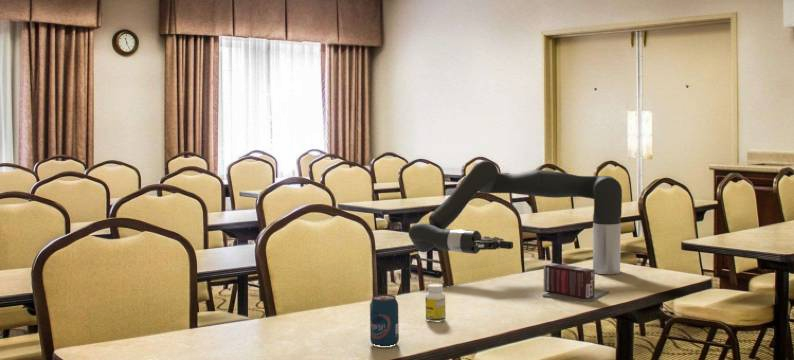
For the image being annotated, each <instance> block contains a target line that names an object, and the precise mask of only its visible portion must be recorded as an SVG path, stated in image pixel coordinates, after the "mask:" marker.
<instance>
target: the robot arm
mask: <svg viewBox="0 0 794 360" xmlns="http://www.w3.org/2000/svg"><path fill="white" fill-rule="evenodd" d="M478 193H481V194H515V195H523V196H524V195H525V196H533V197H534V196H535V197H541V198H542V197H543V198H551V199H552V198H559V199H560V198H572V197H575V198H576V197H578V198H585V199H586V198H587V199H591V200H593V215H592V269H593V270H595V274H599V275H600V274H601V275H617V274H620V273H621V222H622V221H621V220H622V219H621V217H622V211H623V210H622V209H623V202H622V201H623V189H622V185H621V184H620V181H618V180H617V179H616V178H614V177H613V176H609V175H592V176H591V175H589V176H588V175H586V176H585V175H575V174H573V173H572V174H571V173H566V172H561V171H555V170H553V171H552V170H545V169H533V170H527V171H522V172H518V173H502V172H499V171H498V167H497V165H496V164H495V163H494V162H492V161H490V160H481V161H478V162H477V163H475V165H474V166H473V167H472V169H471V170H470V172H469V173H468V174H467V175H466V177H465V178H464V179H463V181H462V182H461V183H460V184H459V185H458V187H456V189H454V191H453V192H452V193H451V194H450V195H449V196H448V197H447V198H446V199H445V200H444V201H443V202H442V203H441V204H440V205H439V206H437V208H436V209H435V210H434V211H433V212H431V214H430V215H429V216H428V222H429V223H426V222H425V223H424V222H419V223H416V224H413V225H411V226H410V228H409V230H408V237H409V239H410V240H411V242H412V244H413V245H414V247H415V249H416V250H417V251H418V252H420V253H427V252H429V251H431V250H432V249H433V248H436V249H438V250H441V251H451V252H456V253H462V254H463V253H465V254H473V255H474V254H475V255H476V254H478V253H479V252H480V251H485V250H487V251H488V250H489V251H490V250H491V251H493V250H500V249H506V250H511V249H514V242H513V241H507V240H504V239H503V238H501V237H497V236H494V237H490V236H489V235H488V236H487V235H486V236H484V237H483V236H482V234H481V233H480V232H479V230H471V229H449V228H448V227H449V226H451V224H452V223H453V222H454V221H455V220H456V219H457V218H458V217H459V216H460V215H461V214H462V212H463V211H464V209H465V208H466V206H467V205H468V203H469V202H470V201H471V199H472V198H473V197H474V196H475V195H476V194H478ZM447 228H448V229H447Z"/></svg>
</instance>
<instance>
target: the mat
mask: <svg viewBox="0 0 794 360" xmlns="http://www.w3.org/2000/svg"><path fill="white" fill-rule="evenodd" d="M608 293H610V291H609V290H605V289H598V288H597V289H596V288H595V291H594V297H592V298H588V299H582V298H577V297H571V296H565V295H559V294H554V293H549V292H546V293H545V294H543V295H542V297H543V298H550V299H559V300H569V301H576V302H586V303H591V302H593V301H595V300H597V299H598V298H601V297H603V296H605V295H607V294H608Z"/></svg>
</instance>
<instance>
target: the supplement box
mask: <svg viewBox="0 0 794 360" xmlns="http://www.w3.org/2000/svg"><path fill="white" fill-rule="evenodd" d="M595 277H596V273H595V270H593V268H586V267H580V266H579V267H578V266H573V265H566V264H560V263H554V262H553V263H547V264H544V265H543V292H545V293H554V294H559V295H565V296H571V297H577V298H582V299H588V298H592V297H594V291H595V289H596V288H595V286H596V285H595V281H596V279H595Z"/></svg>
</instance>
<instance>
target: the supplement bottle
mask: <svg viewBox="0 0 794 360" xmlns="http://www.w3.org/2000/svg"><path fill="white" fill-rule="evenodd" d="M443 290H444V289H443V284H441V283H431V284H428V285H427V291H428V292H426V294H425V320H426V321H427V320H429V321H443V320H445V321H446V316H447V315H446V294H445V292H443ZM443 322H444V321H443Z"/></svg>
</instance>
